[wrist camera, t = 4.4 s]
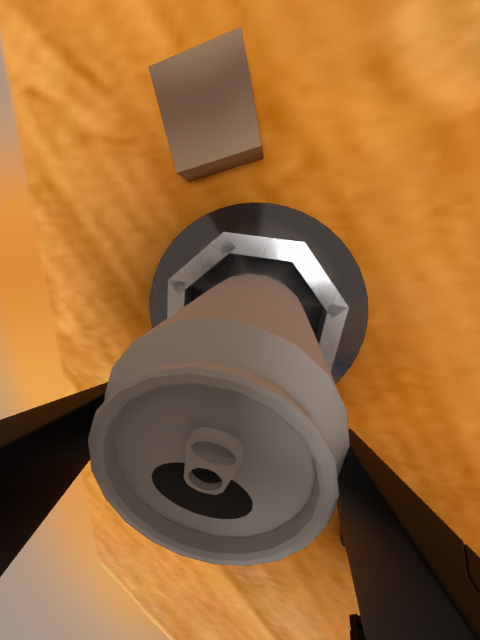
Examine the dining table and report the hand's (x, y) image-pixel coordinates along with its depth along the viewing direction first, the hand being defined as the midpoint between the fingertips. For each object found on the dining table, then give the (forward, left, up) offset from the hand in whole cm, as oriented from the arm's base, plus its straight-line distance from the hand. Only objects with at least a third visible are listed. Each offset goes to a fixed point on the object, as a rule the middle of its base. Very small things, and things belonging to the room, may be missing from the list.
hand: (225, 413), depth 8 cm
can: (0, 0, -9) cm, 9 cm away
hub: (0, 0, -10) cm, 10 cm away
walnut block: (+12, +4, -10) cm, 16 cm away
